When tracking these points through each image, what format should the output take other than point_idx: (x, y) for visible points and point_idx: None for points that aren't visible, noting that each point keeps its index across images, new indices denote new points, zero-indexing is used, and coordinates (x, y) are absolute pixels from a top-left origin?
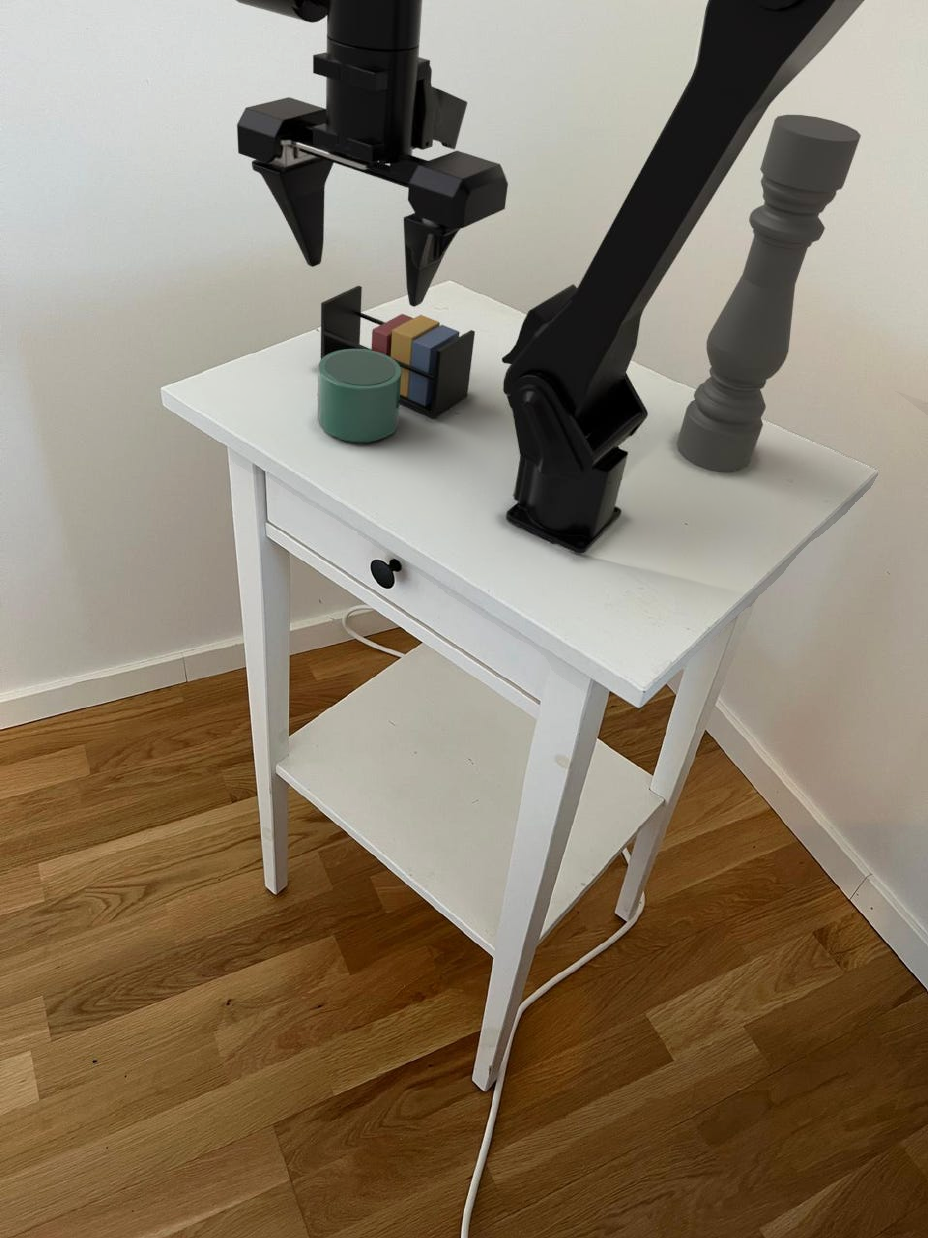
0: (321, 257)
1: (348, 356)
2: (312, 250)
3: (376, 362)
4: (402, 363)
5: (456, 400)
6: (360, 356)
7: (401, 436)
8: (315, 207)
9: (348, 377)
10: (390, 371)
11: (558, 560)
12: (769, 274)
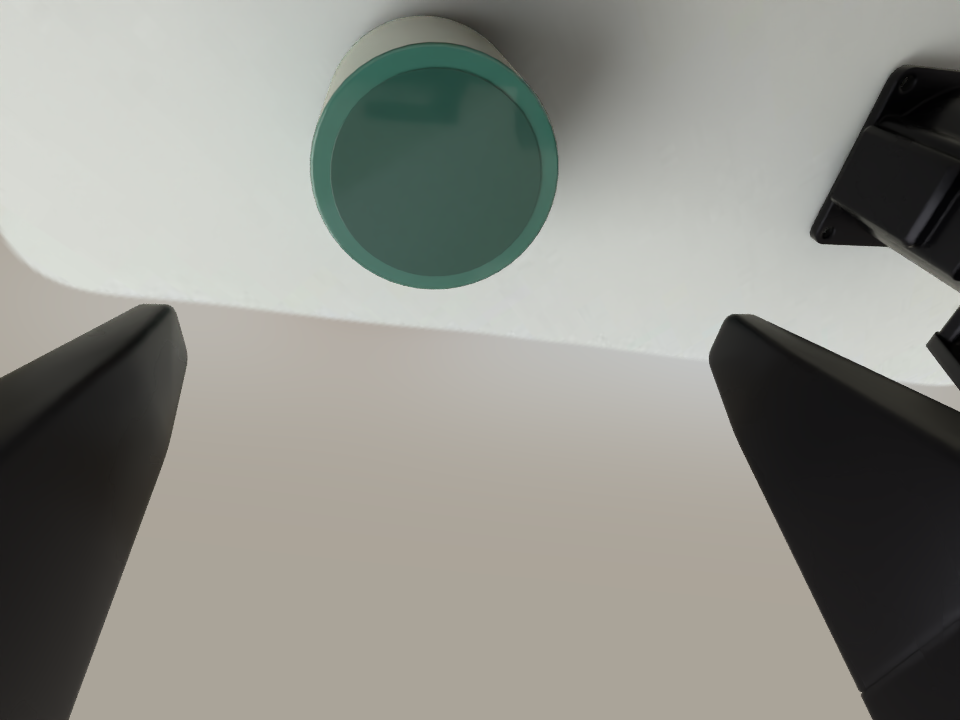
0: (162, 314)
1: (370, 151)
2: (167, 414)
3: (459, 123)
4: None
5: None
6: (398, 125)
7: None
8: (5, 569)
9: (446, 249)
10: (523, 147)
11: (894, 267)
12: None
